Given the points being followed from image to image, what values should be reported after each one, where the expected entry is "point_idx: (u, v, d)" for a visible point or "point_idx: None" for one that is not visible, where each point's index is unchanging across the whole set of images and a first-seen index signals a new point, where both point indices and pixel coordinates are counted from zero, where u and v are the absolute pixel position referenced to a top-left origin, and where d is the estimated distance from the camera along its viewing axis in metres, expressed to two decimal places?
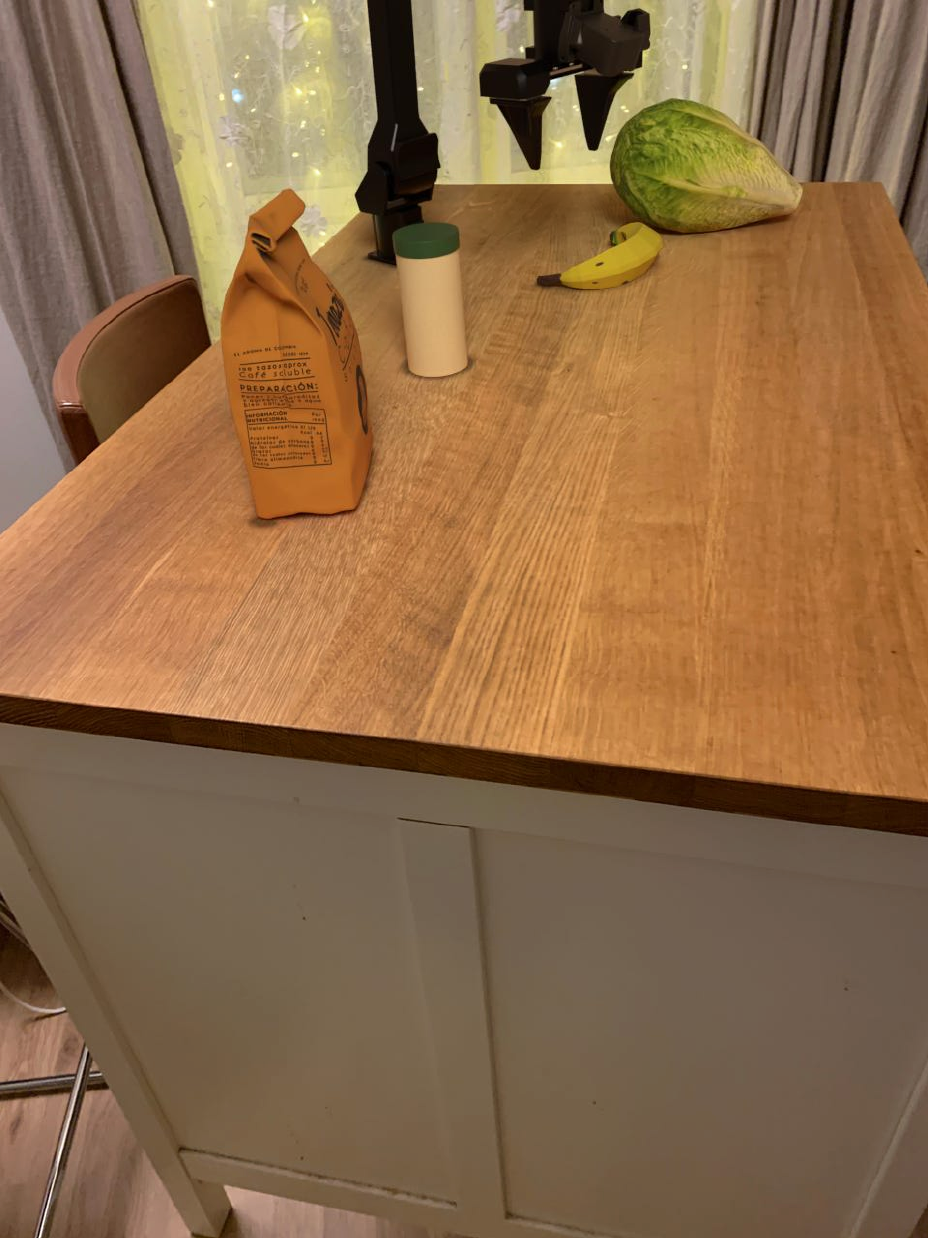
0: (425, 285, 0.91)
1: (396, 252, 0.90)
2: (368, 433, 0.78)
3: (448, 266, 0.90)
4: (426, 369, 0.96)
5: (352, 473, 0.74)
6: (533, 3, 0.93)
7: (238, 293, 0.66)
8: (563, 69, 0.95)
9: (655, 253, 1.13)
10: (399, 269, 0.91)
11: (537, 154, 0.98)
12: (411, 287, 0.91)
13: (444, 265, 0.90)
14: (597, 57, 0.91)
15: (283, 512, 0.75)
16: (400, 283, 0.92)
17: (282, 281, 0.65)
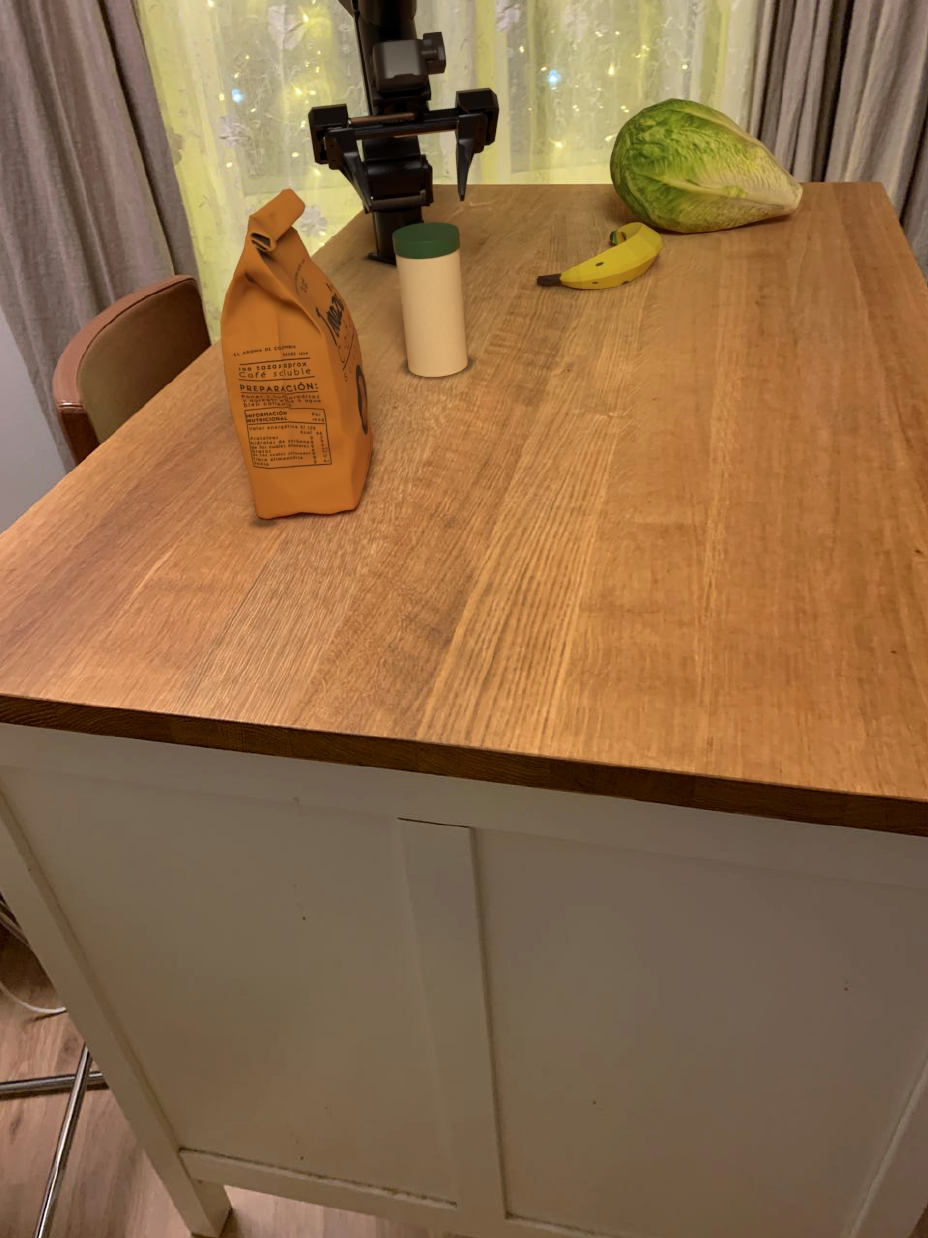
0: (425, 285, 0.91)
1: (396, 252, 0.90)
2: (368, 433, 0.78)
3: (448, 266, 0.90)
4: (426, 369, 0.96)
5: (352, 473, 0.74)
6: None
7: (238, 293, 0.66)
8: (383, 114, 0.96)
9: (655, 253, 1.13)
10: (399, 269, 0.91)
11: (363, 190, 0.96)
12: (411, 287, 0.91)
13: (444, 265, 0.90)
14: (375, 71, 0.91)
15: (283, 512, 0.75)
16: (400, 283, 0.92)
17: (281, 281, 0.65)
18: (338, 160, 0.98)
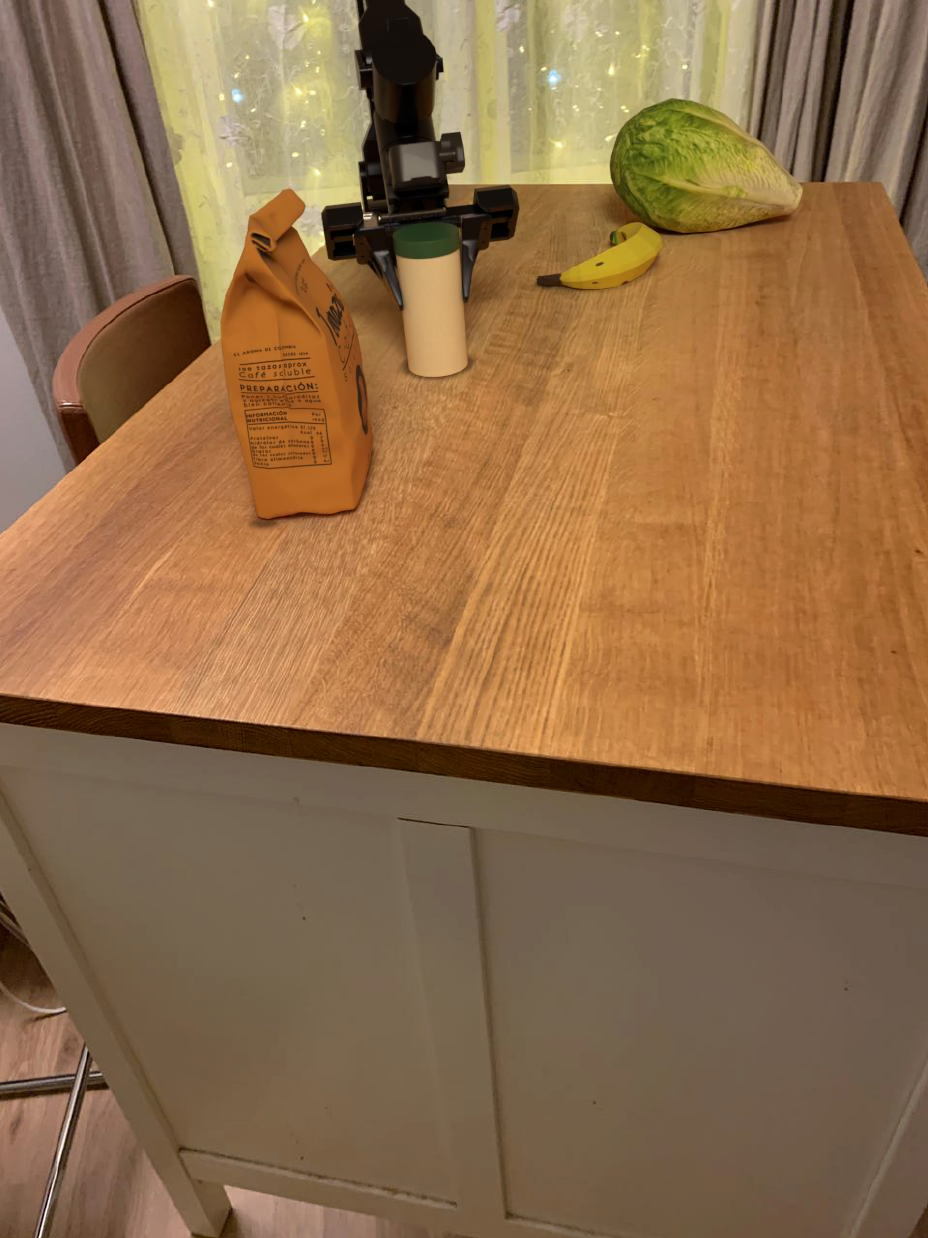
0: (426, 285, 0.91)
1: (396, 252, 0.90)
2: (368, 433, 0.78)
3: (448, 266, 0.90)
4: (426, 369, 0.96)
5: (352, 473, 0.74)
6: None
7: (238, 293, 0.66)
8: (414, 211, 0.93)
9: (655, 253, 1.13)
10: (399, 269, 0.91)
11: (393, 289, 0.92)
12: (411, 287, 0.91)
13: (444, 265, 0.90)
14: (392, 173, 0.88)
15: (283, 512, 0.75)
16: (400, 283, 0.92)
17: (282, 281, 0.65)
18: (367, 256, 0.95)
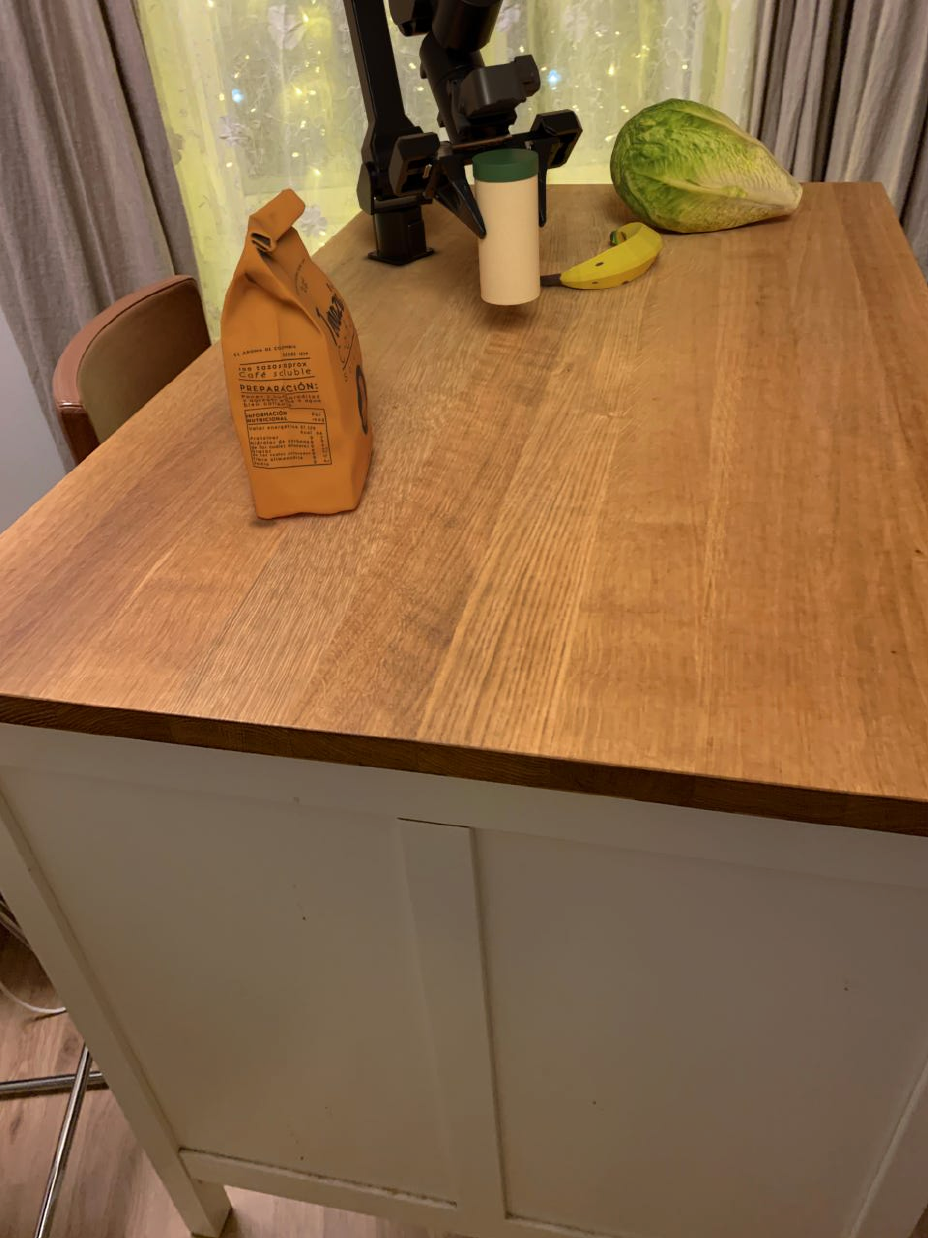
0: (512, 209, 0.91)
1: (480, 178, 0.90)
2: (368, 433, 0.78)
3: (532, 188, 0.91)
4: (508, 297, 0.96)
5: (352, 473, 0.74)
6: (440, 113, 0.96)
7: (238, 293, 0.66)
8: (484, 139, 0.93)
9: (655, 253, 1.13)
10: (482, 195, 0.91)
11: (475, 217, 0.92)
12: (497, 213, 0.91)
13: (530, 187, 0.91)
14: (472, 97, 0.88)
15: (283, 512, 0.75)
16: (482, 210, 0.92)
17: (282, 281, 0.65)
18: (436, 188, 0.94)
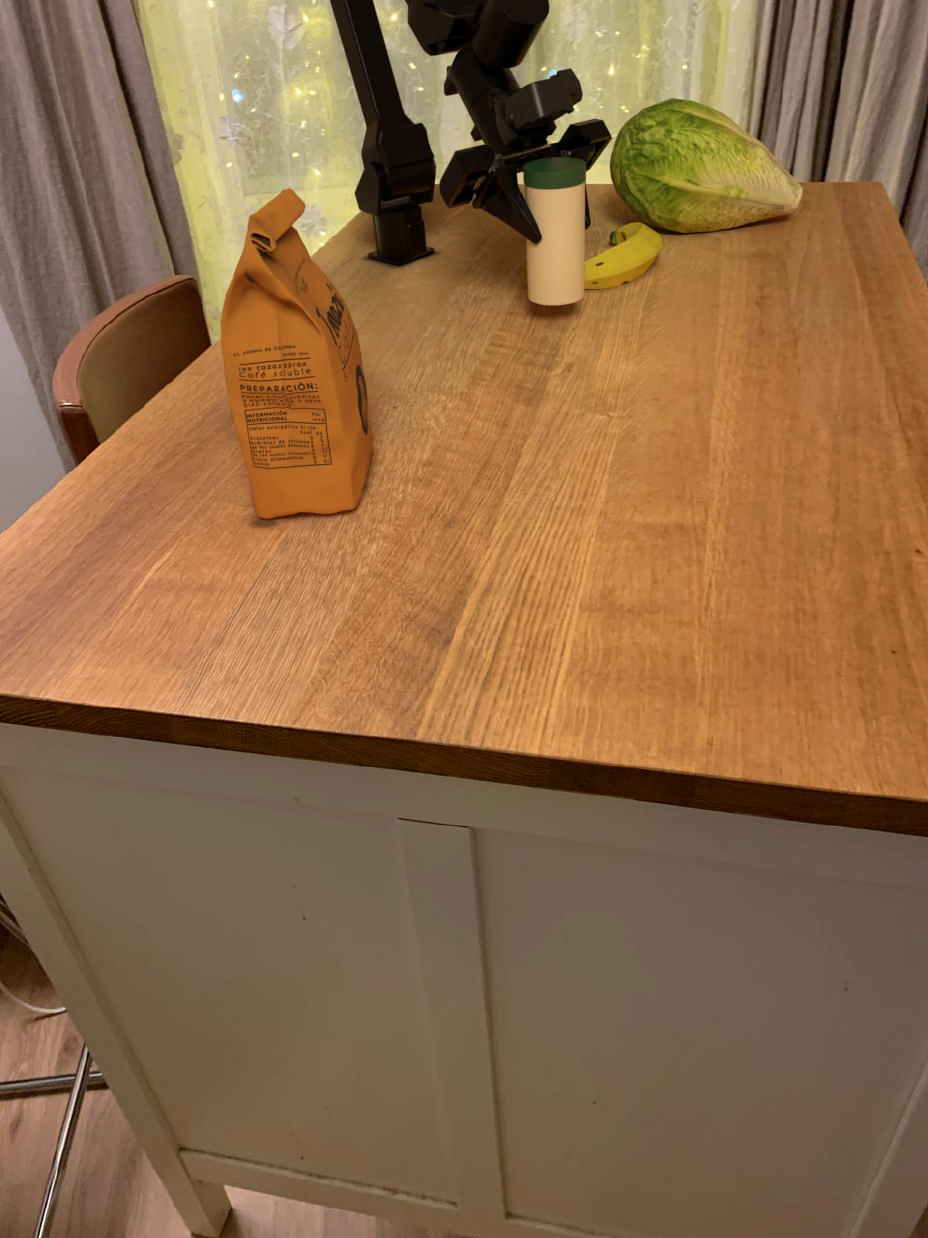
0: (567, 214, 0.96)
1: (536, 186, 0.95)
2: (368, 433, 0.78)
3: (583, 193, 0.97)
4: (561, 297, 1.01)
5: (352, 473, 0.74)
6: (476, 127, 1.00)
7: (238, 293, 0.66)
8: (528, 149, 0.98)
9: (655, 253, 1.13)
10: (537, 202, 0.96)
11: (531, 223, 0.97)
12: (553, 218, 0.96)
13: (581, 192, 0.96)
14: (525, 110, 0.93)
15: (283, 512, 0.75)
16: (537, 216, 0.97)
17: (282, 281, 0.65)
18: (486, 198, 0.98)
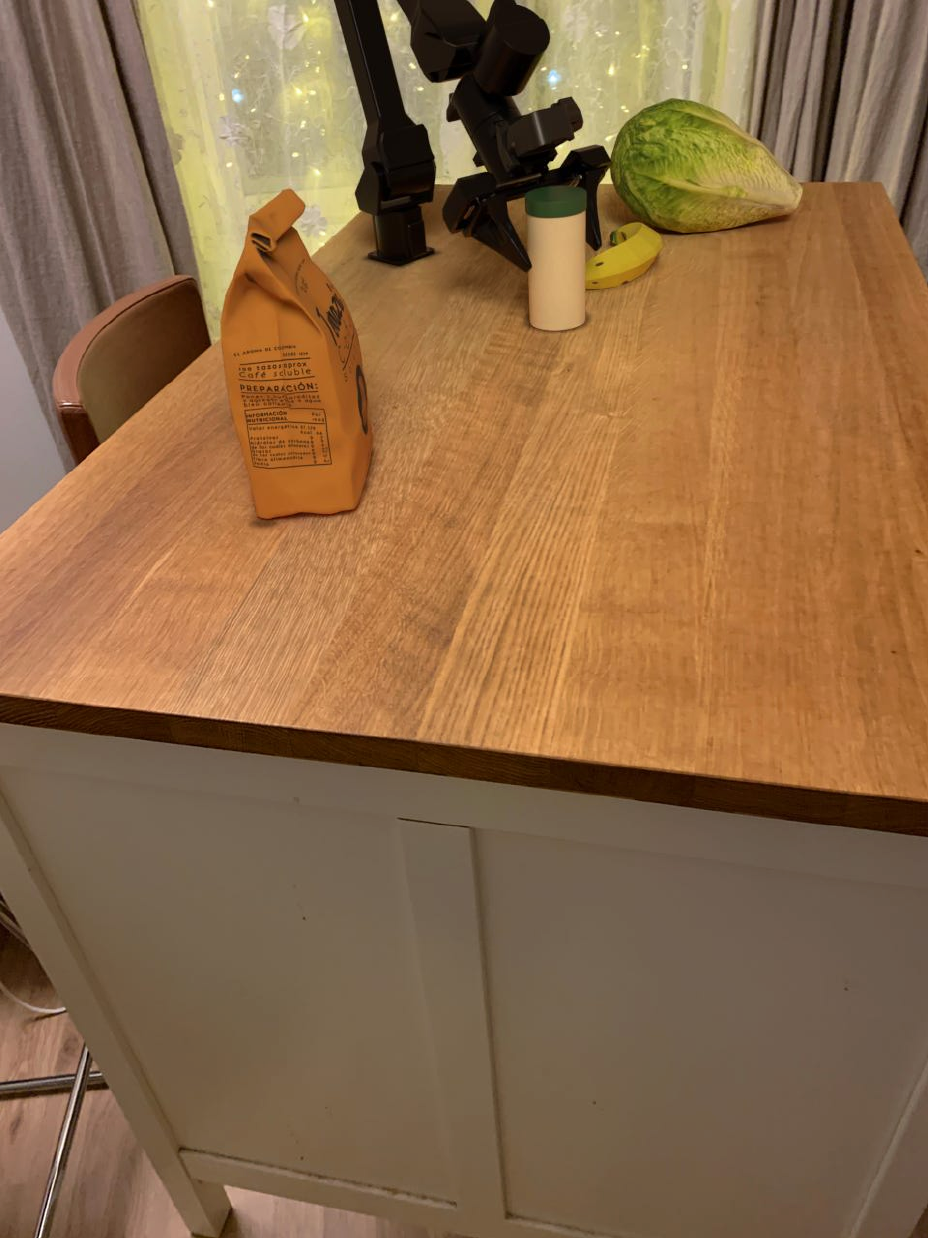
0: (568, 242, 0.98)
1: (537, 214, 0.97)
2: (368, 433, 0.78)
3: (583, 221, 0.98)
4: (562, 323, 1.03)
5: (352, 473, 0.74)
6: (478, 154, 1.02)
7: (238, 293, 0.66)
8: (517, 179, 0.99)
9: (655, 253, 1.13)
10: (539, 231, 0.98)
11: (521, 252, 0.98)
12: (554, 246, 0.98)
13: (582, 221, 0.98)
14: (527, 138, 0.94)
15: (283, 512, 0.75)
16: (538, 244, 0.99)
17: (282, 281, 0.65)
18: (477, 227, 0.99)
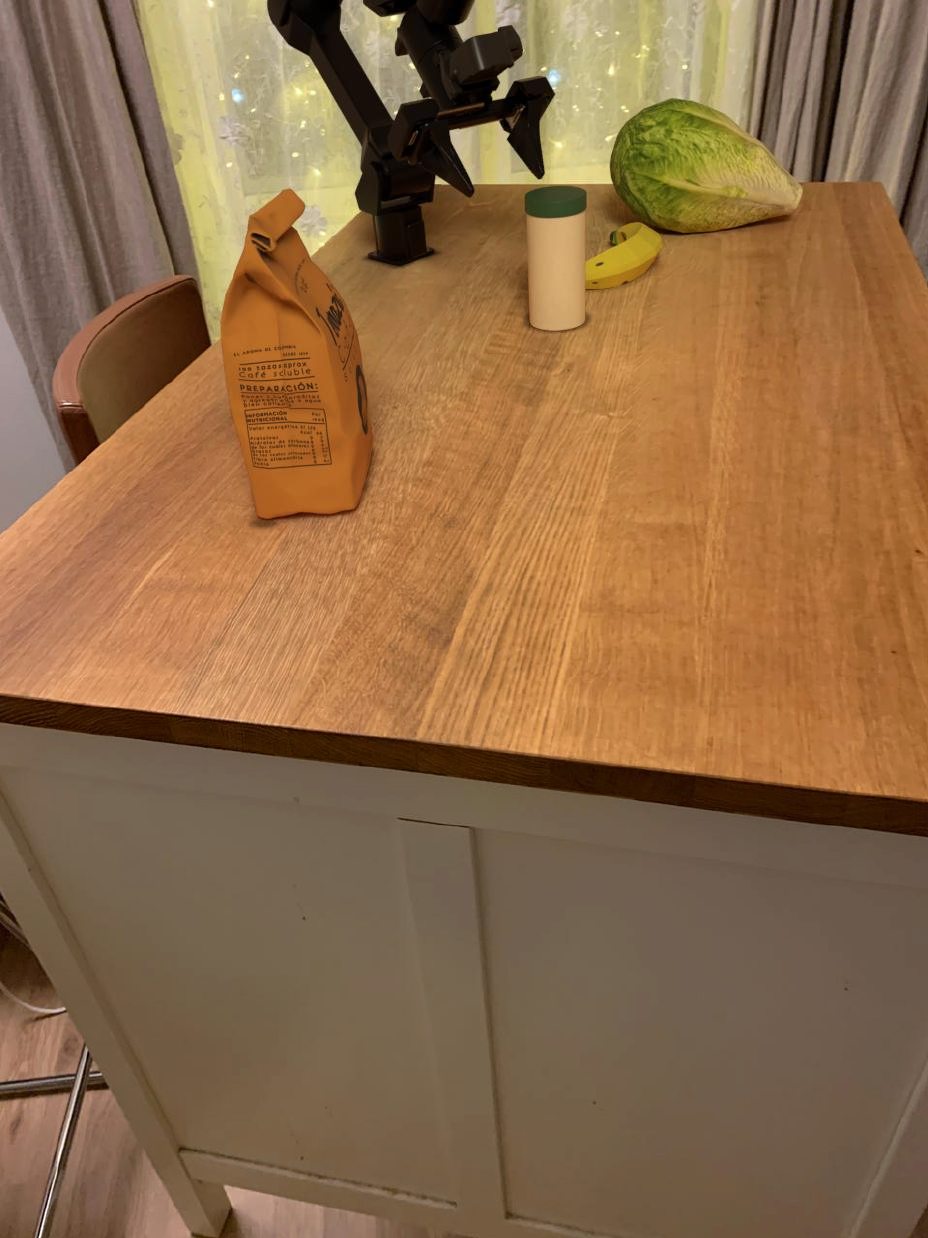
0: (568, 242, 0.98)
1: (537, 214, 0.97)
2: (368, 433, 0.78)
3: (583, 221, 0.98)
4: (562, 323, 1.03)
5: (352, 473, 0.74)
6: (424, 84, 1.05)
7: (238, 293, 0.66)
8: (461, 106, 1.02)
9: (655, 253, 1.13)
10: (539, 231, 0.98)
11: (464, 177, 1.01)
12: (554, 246, 0.98)
13: (582, 221, 0.98)
14: (467, 64, 0.97)
15: (283, 512, 0.75)
16: (538, 244, 0.99)
17: (281, 281, 0.65)
18: (421, 154, 1.02)
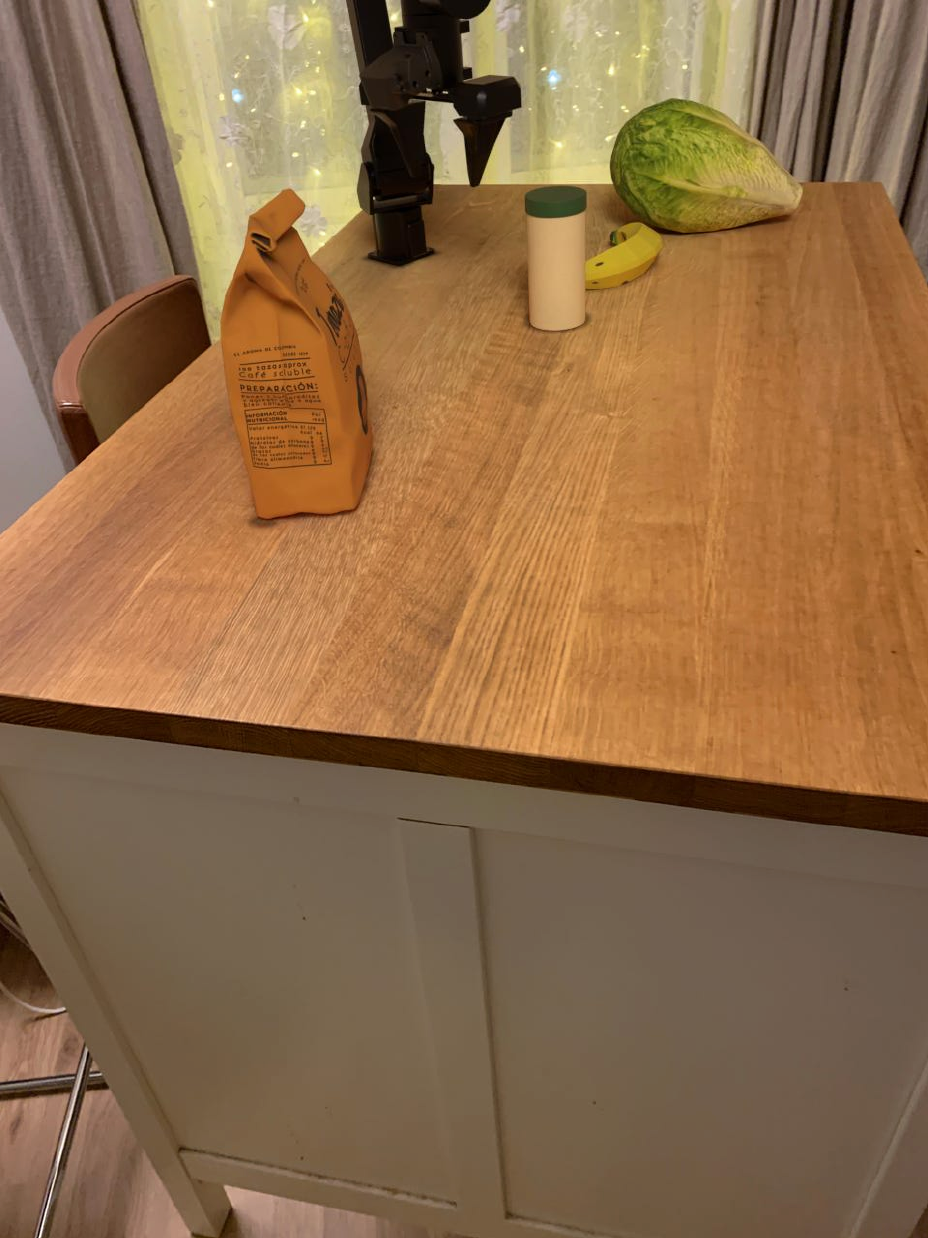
0: (568, 242, 0.98)
1: (537, 214, 0.97)
2: (368, 433, 0.78)
3: (583, 221, 0.98)
4: (562, 323, 1.03)
5: (352, 473, 0.74)
6: None
7: (238, 293, 0.66)
8: None
9: (655, 253, 1.13)
10: (539, 231, 0.98)
11: (405, 161, 1.07)
12: (554, 246, 0.98)
13: (582, 221, 0.98)
14: None
15: (283, 512, 0.75)
16: (538, 244, 0.99)
17: (282, 281, 0.65)
18: None
